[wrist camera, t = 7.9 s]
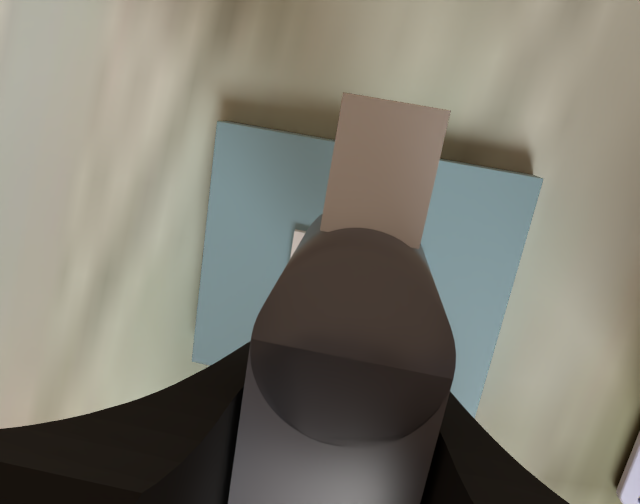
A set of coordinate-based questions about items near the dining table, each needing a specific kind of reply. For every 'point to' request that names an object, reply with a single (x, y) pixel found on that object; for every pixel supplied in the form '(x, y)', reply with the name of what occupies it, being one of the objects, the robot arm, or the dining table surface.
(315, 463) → the plug
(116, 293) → the dining table surface
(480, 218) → the board
